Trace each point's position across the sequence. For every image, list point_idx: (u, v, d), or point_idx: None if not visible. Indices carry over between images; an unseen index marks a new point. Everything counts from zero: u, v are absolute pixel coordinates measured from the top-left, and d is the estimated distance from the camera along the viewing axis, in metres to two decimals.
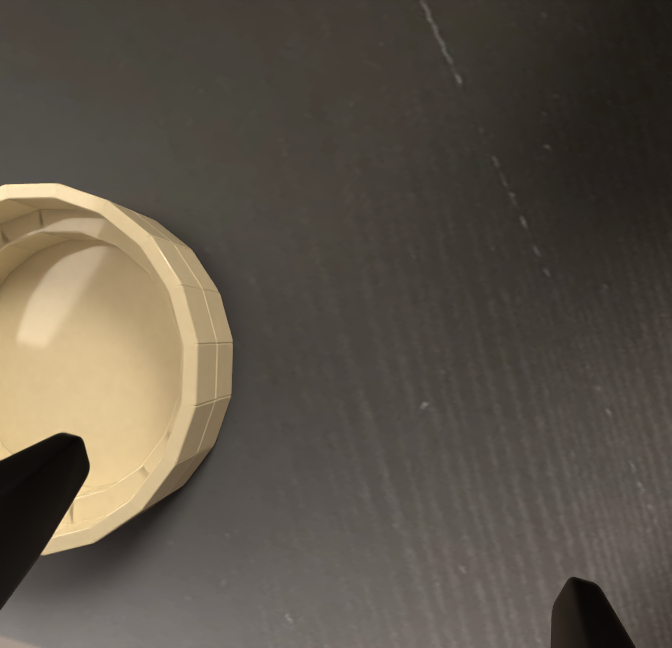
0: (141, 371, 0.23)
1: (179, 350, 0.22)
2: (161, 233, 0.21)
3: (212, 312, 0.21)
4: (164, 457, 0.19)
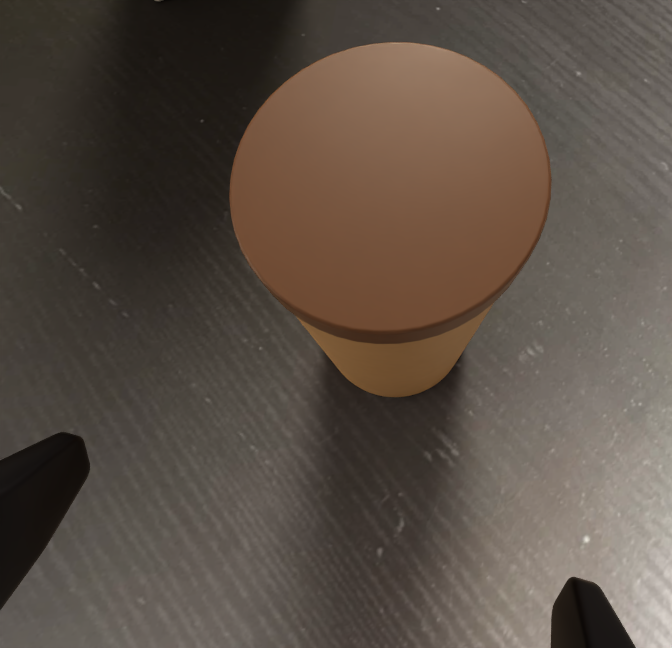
0: None
1: None
2: None
3: None
4: None
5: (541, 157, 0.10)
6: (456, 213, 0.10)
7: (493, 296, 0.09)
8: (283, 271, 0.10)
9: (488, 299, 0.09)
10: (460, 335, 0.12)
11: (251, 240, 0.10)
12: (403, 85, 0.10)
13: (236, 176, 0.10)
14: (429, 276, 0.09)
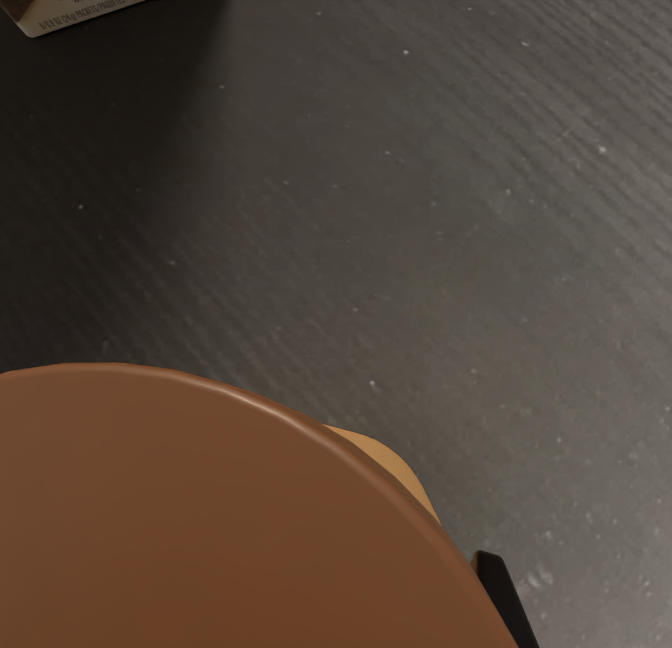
0: None
1: None
2: None
3: None
4: None
5: None
6: None
7: None
8: None
9: None
10: None
11: None
12: (126, 537, 0.03)
13: None
14: None
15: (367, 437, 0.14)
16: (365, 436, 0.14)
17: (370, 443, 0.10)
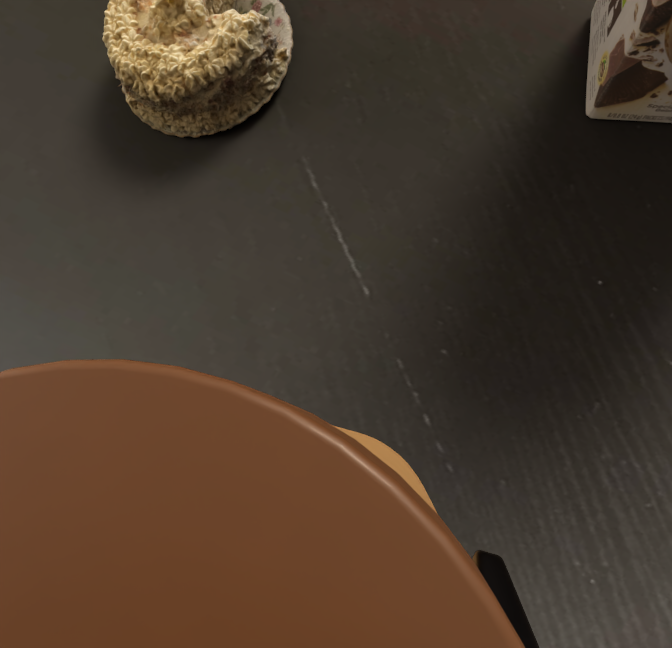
0: None
1: None
2: None
3: None
4: None
5: None
6: None
7: None
8: None
9: None
10: None
11: None
12: (130, 533, 0.03)
13: None
14: None
15: None
16: None
17: (371, 442, 0.10)
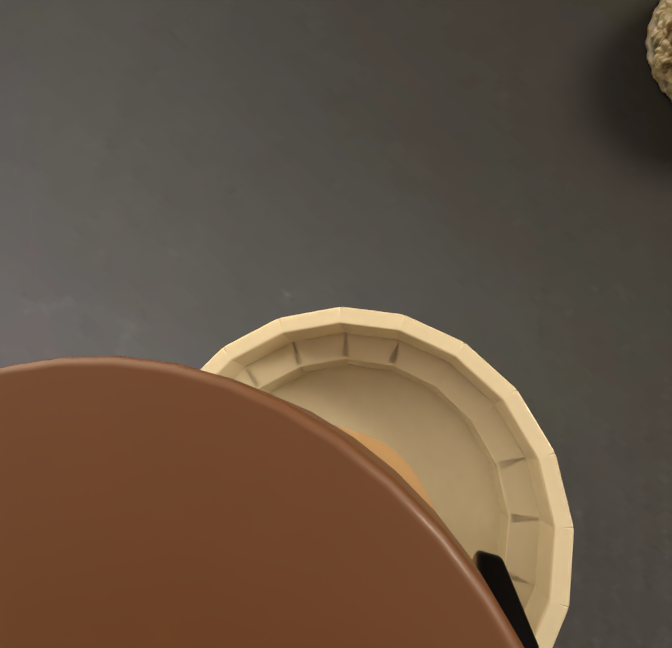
0: None
1: (470, 553, 0.19)
2: None
3: None
4: None
5: None
6: None
7: None
8: None
9: None
10: None
11: None
12: (127, 530, 0.03)
13: None
14: None
15: (367, 435, 0.14)
16: (365, 434, 0.14)
17: (370, 441, 0.10)
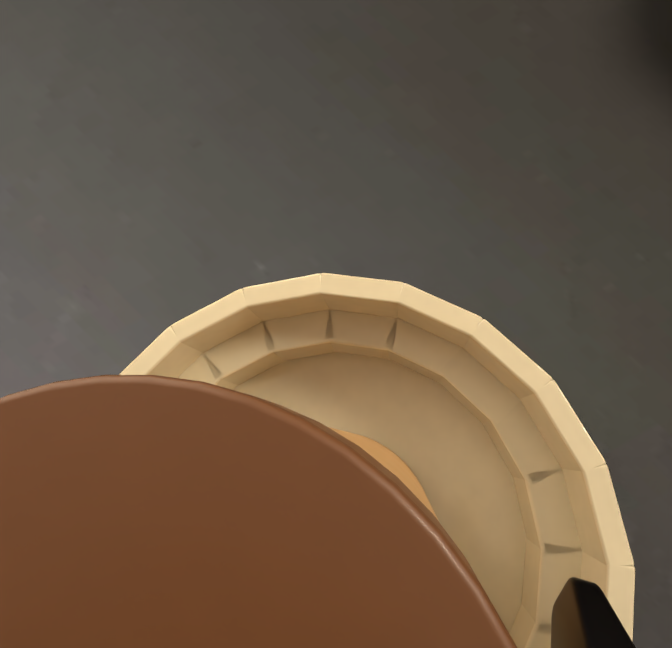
0: None
1: (488, 591, 0.15)
2: None
3: None
4: None
5: None
6: None
7: None
8: None
9: None
10: None
11: None
12: (162, 530, 0.04)
13: None
14: None
15: None
16: None
17: (372, 445, 0.10)
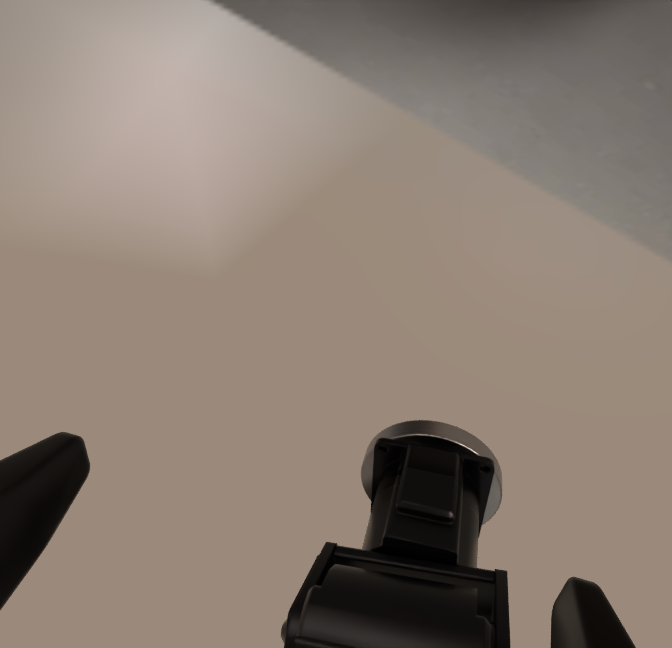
0: None
1: None
2: None
3: None
4: None
5: None
6: None
7: None
8: None
9: None
10: None
11: None
12: None
13: None
14: None
15: None
16: None
17: None
